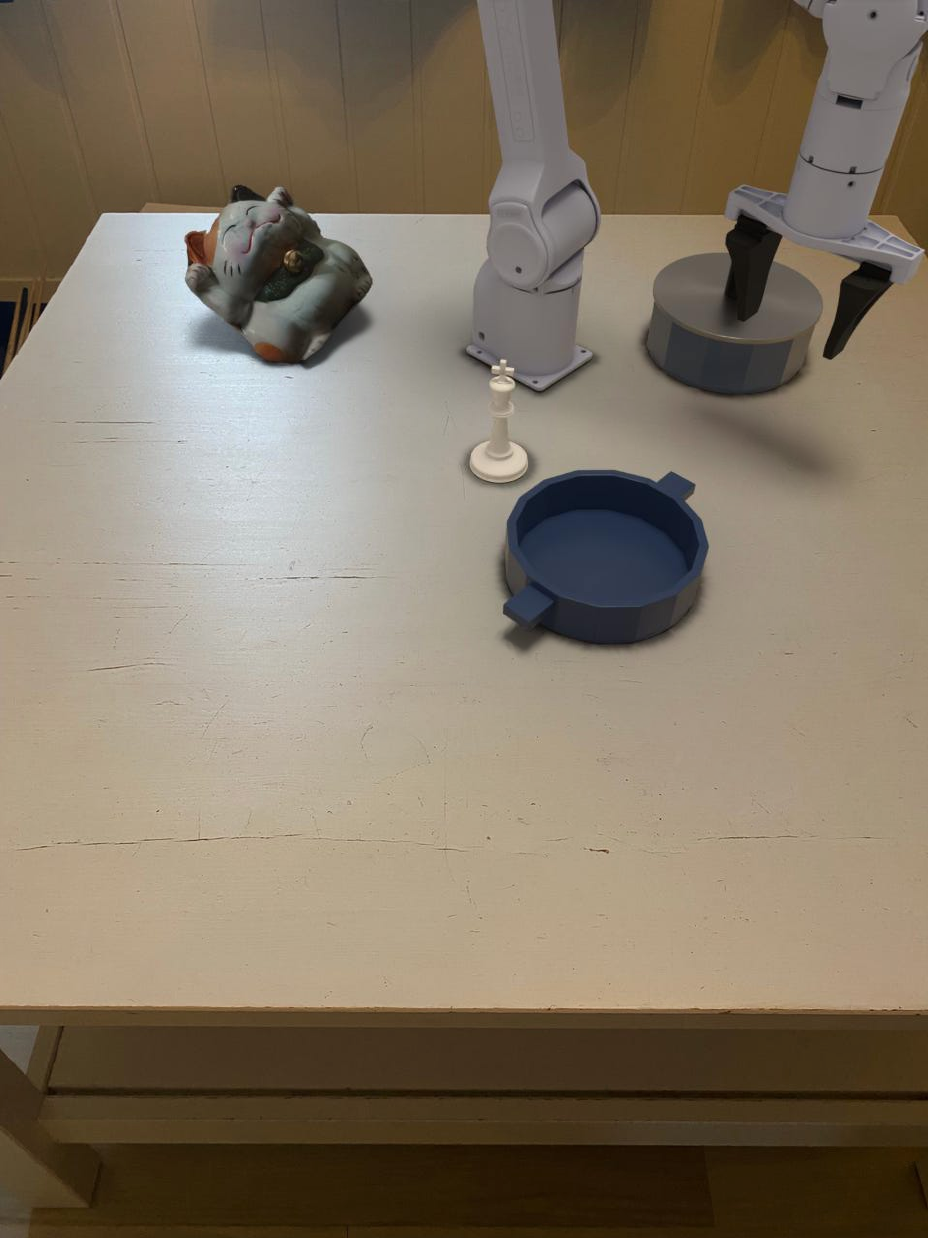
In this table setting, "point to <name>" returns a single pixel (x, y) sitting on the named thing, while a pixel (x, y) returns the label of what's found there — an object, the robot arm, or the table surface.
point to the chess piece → (499, 435)
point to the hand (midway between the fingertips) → (788, 334)
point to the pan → (604, 555)
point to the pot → (723, 358)
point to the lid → (735, 301)
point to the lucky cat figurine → (274, 274)
